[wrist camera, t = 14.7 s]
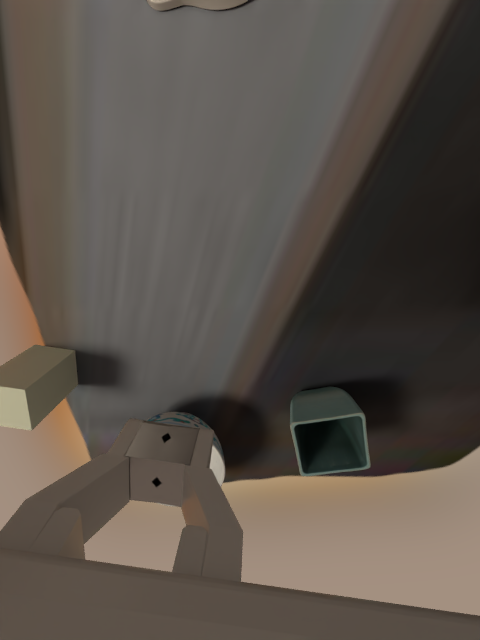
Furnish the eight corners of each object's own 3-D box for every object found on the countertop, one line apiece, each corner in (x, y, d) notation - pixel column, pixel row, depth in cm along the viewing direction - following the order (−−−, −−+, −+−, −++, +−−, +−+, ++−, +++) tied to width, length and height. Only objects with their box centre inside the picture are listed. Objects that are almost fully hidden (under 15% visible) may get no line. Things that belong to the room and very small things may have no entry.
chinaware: (119, 420, 47) (94, 458, 40) (187, 372, 43) (173, 405, 36) (180, 476, 51) (168, 520, 44) (248, 437, 47) (247, 478, 40)
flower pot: (282, 382, 43) (289, 424, 35) (343, 371, 42) (365, 412, 34) (293, 428, 46) (301, 478, 38) (349, 420, 45) (371, 469, 36)
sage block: (40, 379, 45) (-17, 423, 36) (35, 344, 43) (-27, 382, 34) (78, 384, 45) (31, 430, 36) (75, 350, 43) (24, 389, 34)
